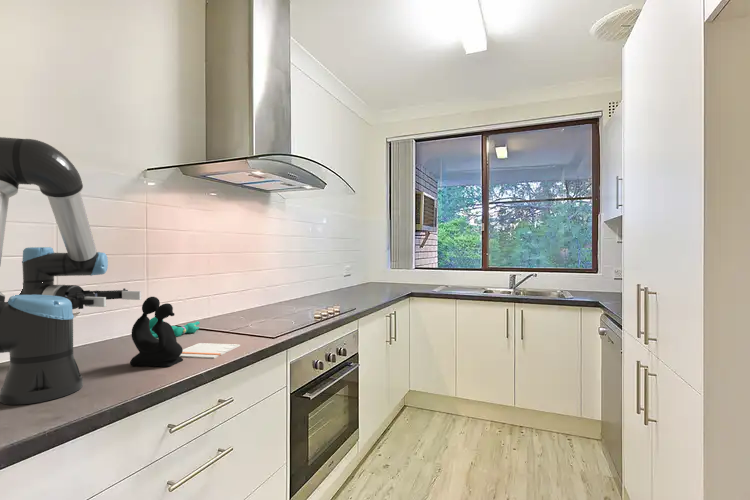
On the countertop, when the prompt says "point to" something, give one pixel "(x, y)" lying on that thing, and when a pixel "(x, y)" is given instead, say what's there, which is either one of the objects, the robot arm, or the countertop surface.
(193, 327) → the toy
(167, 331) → the figurine
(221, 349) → the mat
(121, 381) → the countertop surface
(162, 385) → the countertop surface
